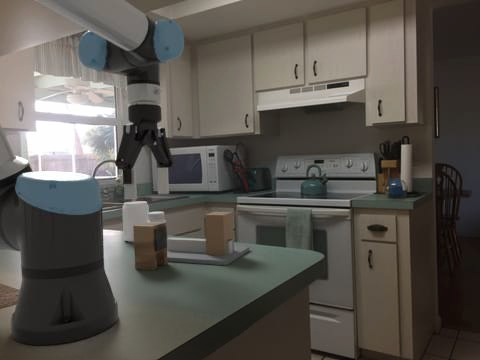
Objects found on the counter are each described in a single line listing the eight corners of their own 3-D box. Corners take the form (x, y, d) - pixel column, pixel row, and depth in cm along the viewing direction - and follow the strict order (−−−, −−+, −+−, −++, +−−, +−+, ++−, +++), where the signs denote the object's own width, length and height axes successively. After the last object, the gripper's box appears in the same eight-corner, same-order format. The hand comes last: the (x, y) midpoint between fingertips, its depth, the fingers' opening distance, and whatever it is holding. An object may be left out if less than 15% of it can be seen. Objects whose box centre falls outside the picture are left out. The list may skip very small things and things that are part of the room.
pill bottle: (169, 244, 123) (168, 211, 123) (164, 248, 118) (163, 213, 117) (151, 244, 124) (149, 211, 124) (144, 248, 118) (143, 214, 118)
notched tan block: (155, 270, 94) (154, 226, 94) (135, 268, 96) (133, 225, 96) (169, 263, 100) (167, 222, 100) (149, 262, 102) (148, 221, 102)
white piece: (121, 239, 134) (120, 202, 133) (147, 236, 137) (145, 200, 137) (126, 243, 126) (124, 204, 126) (152, 240, 130) (151, 202, 129)
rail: (226, 265, 97) (224, 218, 96) (145, 259, 105) (143, 216, 104) (249, 250, 112) (248, 209, 111) (177, 246, 120) (176, 208, 119)
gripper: (125, 96, 84) (129, 201, 85) (184, 109, 107) (187, 192, 108) (94, 99, 86) (99, 201, 87) (159, 111, 110) (162, 192, 111)
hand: (148, 196), depth 98 cm, fingers open, 13 cm apart
